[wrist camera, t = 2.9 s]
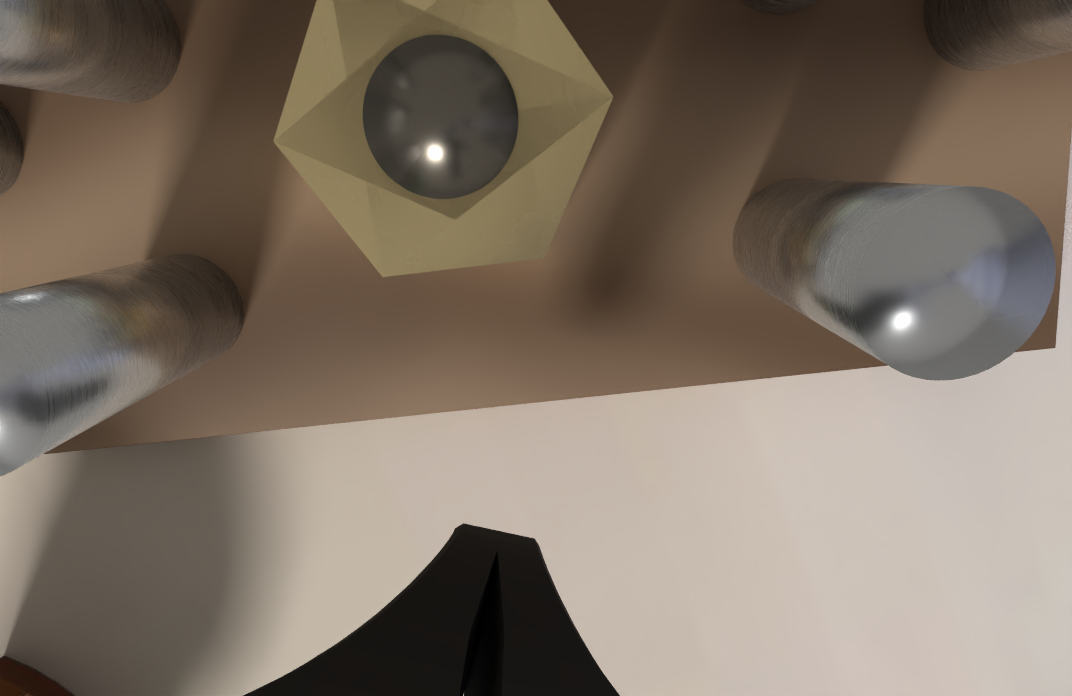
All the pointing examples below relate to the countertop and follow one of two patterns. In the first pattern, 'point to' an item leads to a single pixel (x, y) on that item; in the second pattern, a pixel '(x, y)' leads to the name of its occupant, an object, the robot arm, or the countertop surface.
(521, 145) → the nut
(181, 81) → the board
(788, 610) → the countertop surface
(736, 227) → the spacers
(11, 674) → the food container
